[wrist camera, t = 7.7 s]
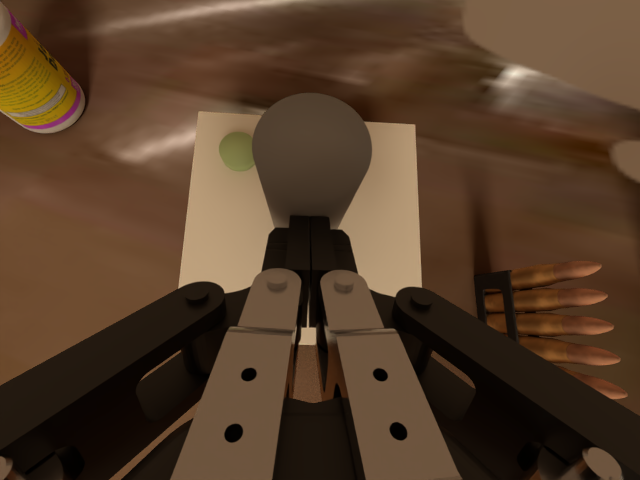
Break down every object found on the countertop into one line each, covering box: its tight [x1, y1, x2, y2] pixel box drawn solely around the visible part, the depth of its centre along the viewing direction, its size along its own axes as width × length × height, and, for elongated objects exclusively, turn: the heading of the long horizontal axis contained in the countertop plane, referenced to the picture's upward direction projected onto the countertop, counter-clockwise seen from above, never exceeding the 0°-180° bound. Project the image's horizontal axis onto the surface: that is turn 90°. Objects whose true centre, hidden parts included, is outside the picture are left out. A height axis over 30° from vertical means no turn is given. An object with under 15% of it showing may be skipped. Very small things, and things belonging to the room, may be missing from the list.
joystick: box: [178, 93, 422, 345], centre depth 16 cm, size 15×15×11 cm
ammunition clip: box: [474, 261, 628, 399], centre depth 23 cm, size 11×2×12 cm, turn 179°
